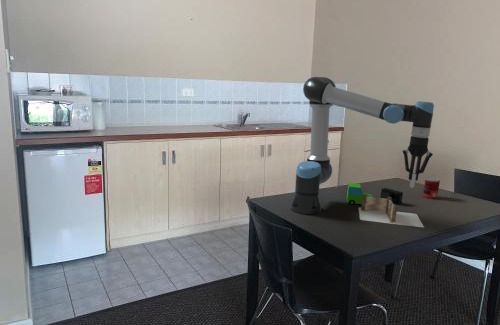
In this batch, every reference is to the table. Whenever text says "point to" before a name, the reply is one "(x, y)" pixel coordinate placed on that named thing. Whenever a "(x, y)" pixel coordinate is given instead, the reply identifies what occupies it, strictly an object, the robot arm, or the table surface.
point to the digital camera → (392, 195)
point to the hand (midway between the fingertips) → (411, 186)
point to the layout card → (384, 217)
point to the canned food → (431, 188)
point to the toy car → (355, 194)
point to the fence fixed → (375, 203)
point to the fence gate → (392, 211)
